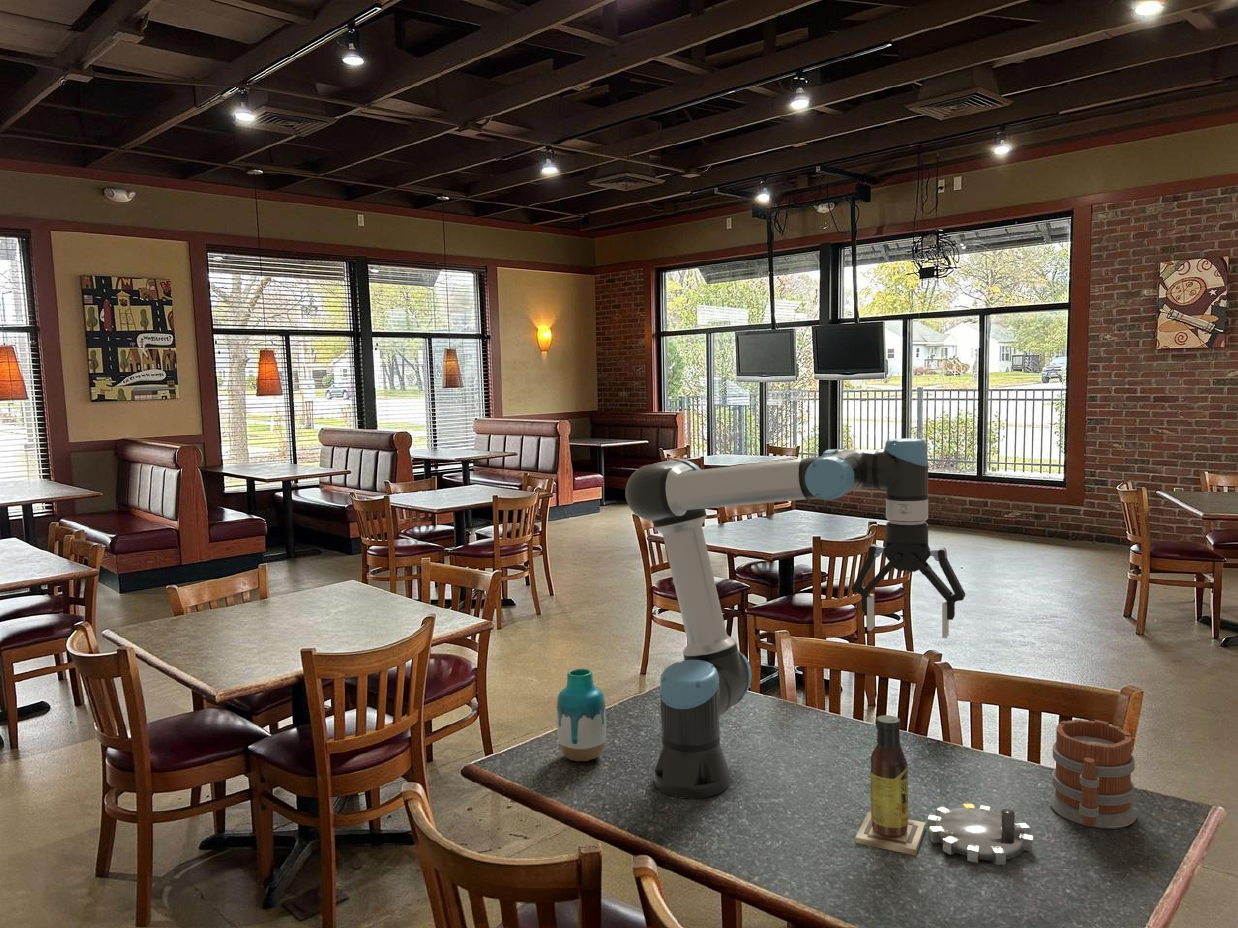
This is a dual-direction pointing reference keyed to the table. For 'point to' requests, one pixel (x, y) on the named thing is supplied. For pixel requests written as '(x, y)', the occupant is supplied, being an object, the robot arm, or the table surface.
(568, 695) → the vase
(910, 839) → the marked pad
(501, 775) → the table surface
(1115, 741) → the mug
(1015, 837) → the sprocket
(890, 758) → the sauce bottle
